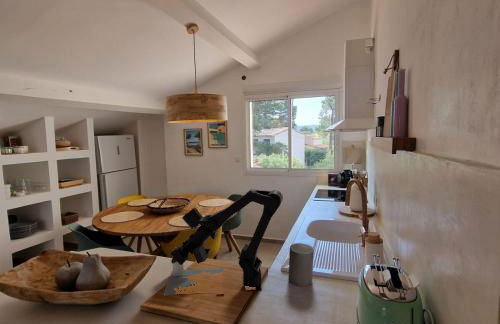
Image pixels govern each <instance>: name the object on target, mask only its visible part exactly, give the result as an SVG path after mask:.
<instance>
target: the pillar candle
mask: <svg viewBox="0 0 500 324" xmlns="http://www.w3.org/2000/svg"><path fill="white" fill-rule="evenodd" d="M314 250H315V249H314V246H312V245H310V244H307V243H302V242H301V243H300V242H298V243H297V242H296V243H292V244H291V245H290V246H289V254H288V255H289V258H288V259H289V262H288V264H289V266H288V281H289V282H290V283H291V284H293V285H294V286H298V287H307V286H310V285H311V284H312V283H313V276H314V274H313V272H314V252H315V251H314Z"/></svg>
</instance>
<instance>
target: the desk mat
mask: <svg viewBox="0 0 500 324" xmlns="http://www.w3.org/2000/svg"><path fill="white" fill-rule="evenodd" d="M203 271H204V272H205V273H206V272H207V273H208V272H209V273H210V272H211V274H212V273H213V274H214V273H220V272H223V271H224V272H225V268H210V269H209V268H208V269H207V268H206V269H184V274H183V275H182V276H178V277H176V276H173V270H171V273H170V276H169V278H168V281H167V283H166V286H165V289H164V291H163V294H165V295H164V296H168V295H169V296H180V295H179V294H178V295H177V294H175V293H176V291H175V290H174V288H177V289H178V290H179V286H181V287H182V288H183V287H188V286H192V284H191V282H195V281H193V280H192V281H190V280H189V279H188V278H183V277H188V276H191V275H193V274H194V276H195V274H200V272H201V273H202V272H203ZM196 284H197V283H196ZM193 285H194V286H195V284H194V283H193ZM185 290H186V289H185ZM185 290H184V291H185ZM181 291H182V290H181ZM181 291H180V292H181Z"/></svg>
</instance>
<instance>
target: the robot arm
mask: <svg viewBox="0 0 500 324" xmlns="http://www.w3.org/2000/svg"><path fill="white" fill-rule="evenodd" d="M283 200H284V197H283V194H282V192H281V191H279V190H277V189H273V190H262V189H255V188H254V189H252V188H251V189H250V190H248V191H247V192H246V193H245V194H244V195H242V196H241V197H238V199H237V200H235V201H234V202H233V203H231V204H230V205H229V206H227V207H225V208H222V209H220V210H218V211H216V212H214V213H212V214H207V215H204V216H203V214H201V212H200V211H199V210H198V209H197V207H196V206H194V207H192V208H191V209H190V210H189V211H188V212H187V213H185V214H183V216H181V219H182V220H183V221H184V223H185V224H186V225H187V226H188V227H189V228H190V229H191V230H192V229H195V230H194V232H193V233H191V234H190V235H189V236H188V237H187V238H186V239H185V240H184V241H183V242H182V245H181V246H180V245H178V246H175V247H176V248H174V249H172V250H173V251H172V250H171V252H170V256H173V257H172V258H171V261H170V263H171V264H173V263H175V262H178V263H179V264H180V265H182V264H183V265H184V263H185V262H186V261H187V260H188V259H189V255H193V257H194V258H195V260H196V264H201V263H204V262H205V261H207V260H208V259H209V256H210V255H209V254H210V252H211V249H210V247H209V246H204V244H205V242H207V240H208V239H209V238H210V237H211V238H212V240H215V239H216V238H217V237H218V230H219V229H221V227H222V226H223V225H224V224H225V223H226V222H227V221H228V220H229V219H230V218H232V216H234V215H235V214H237V213H238V212H239V211H241V210H242V209H244V208H245V207H247V206H248V205H249V204H250V203H256V204H259V205H262V206H263V208H262V214H261V216H260V219H259V221H258V223H257V226H256V228H255V230H254V232H253V235H252V237H251V239H250V241H249V243H245V244H244V246H243V247H242V249H241V251H240V254H239V256H238V258H237V260H238V265H239V267H240V268H241V269H242V272H243V273H242V286H243V285H244V286H249V287H256V290H255V291H262V290H263V287H262V271H261V267H262V264H263V261H262V260H261V258H259V257H258V254H259V249H260V245H261V242H262V240H263V238H264V236H265V233H266V231H267V229H268V226H269V224H270V222H271V220H272V217H273V216H274V215H275V213H276V212H277V211H278V209H279V208H280V206H281V204H282V203H283ZM244 286H243V287H244Z"/></svg>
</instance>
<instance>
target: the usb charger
mask: <svg viewBox="0 0 500 324" xmlns="http://www.w3.org/2000/svg"><path fill="white" fill-rule="evenodd" d="M176 247H177V246H175V248H176ZM175 248H174V249H175ZM174 249H172V250H171V252H172V251H173V250H174ZM171 256H172V255H171ZM172 257H173V256H172ZM171 264H172V263H171ZM171 266H172V271H173V276H176V277H178V276H182V275H183V274H184V270H185V269H184V263H183V264H182V265H180V264H179V263H178V262H175V263H173V264H172V265H171Z"/></svg>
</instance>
